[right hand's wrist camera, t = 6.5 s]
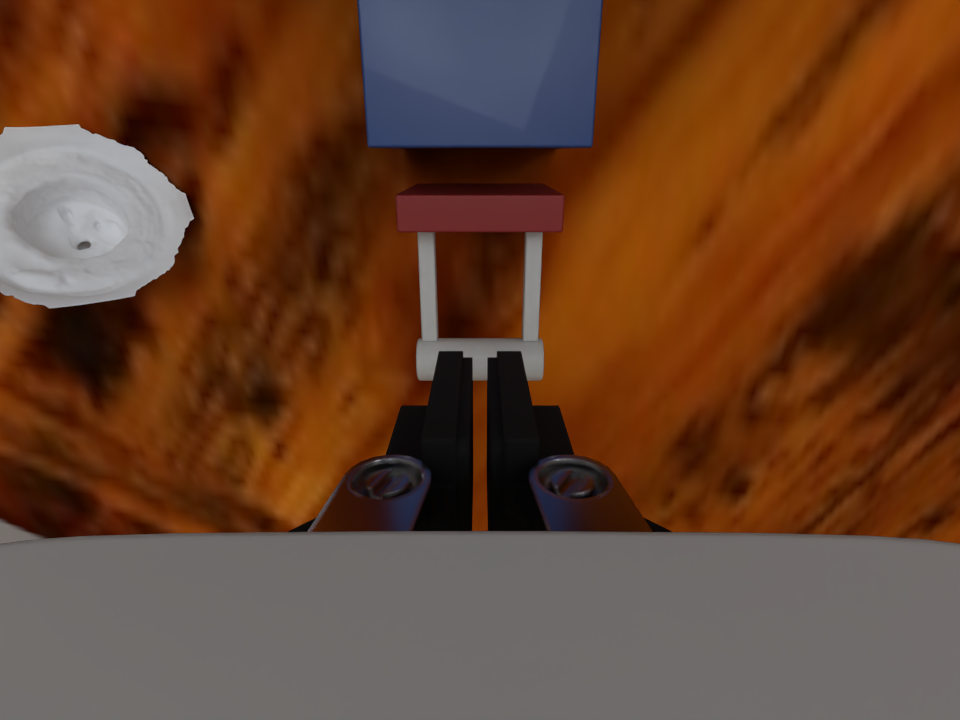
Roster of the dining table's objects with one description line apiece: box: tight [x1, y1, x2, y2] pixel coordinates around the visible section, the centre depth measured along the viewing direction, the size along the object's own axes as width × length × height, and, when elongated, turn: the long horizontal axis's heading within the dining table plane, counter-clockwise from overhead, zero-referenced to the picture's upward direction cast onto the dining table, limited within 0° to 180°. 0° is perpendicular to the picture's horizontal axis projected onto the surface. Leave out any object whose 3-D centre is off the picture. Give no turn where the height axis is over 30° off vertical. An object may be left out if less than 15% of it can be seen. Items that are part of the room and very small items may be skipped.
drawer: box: [396, 148, 565, 381], centre depth 19 cm, size 22×6×6 cm, turn 0°
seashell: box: [0, 124, 194, 308], centre depth 22 cm, size 8×5×8 cm
